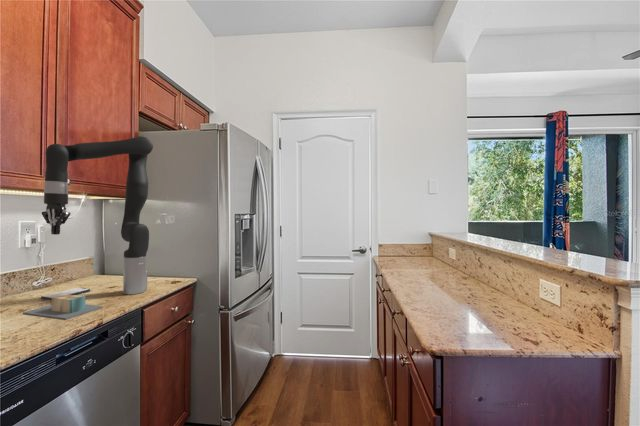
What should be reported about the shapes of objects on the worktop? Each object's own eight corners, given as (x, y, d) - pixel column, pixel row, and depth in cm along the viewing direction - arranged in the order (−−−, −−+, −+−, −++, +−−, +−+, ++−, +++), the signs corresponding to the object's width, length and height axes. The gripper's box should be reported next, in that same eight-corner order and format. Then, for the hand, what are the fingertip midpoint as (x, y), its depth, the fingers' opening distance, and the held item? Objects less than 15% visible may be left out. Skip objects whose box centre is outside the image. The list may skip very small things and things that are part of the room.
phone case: (52, 302, 127) (91, 292, 143) (52, 298, 127) (91, 288, 143) (39, 299, 130) (78, 290, 145) (39, 296, 130) (78, 287, 145)
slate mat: (63, 302, 124) (63, 301, 124) (103, 307, 120) (103, 306, 120) (22, 313, 111) (22, 312, 111) (66, 319, 106) (66, 318, 106)
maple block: (65, 294, 118) (85, 296, 116) (65, 306, 118) (85, 308, 116) (51, 297, 113) (71, 299, 111) (51, 310, 113) (71, 313, 111)
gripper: (78, 193, 125) (77, 234, 125) (54, 193, 128) (53, 233, 128) (58, 192, 118) (57, 235, 118) (33, 192, 121) (33, 234, 121)
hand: (55, 234), depth 123 cm, fingers closed
